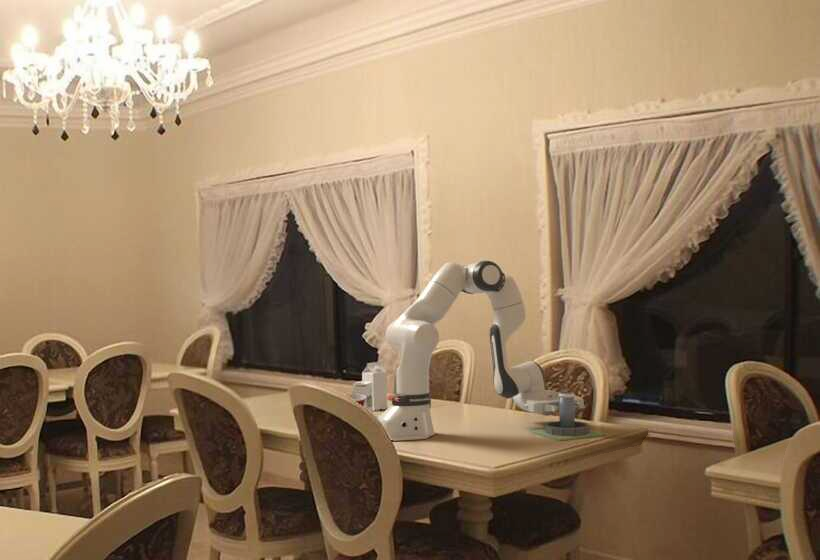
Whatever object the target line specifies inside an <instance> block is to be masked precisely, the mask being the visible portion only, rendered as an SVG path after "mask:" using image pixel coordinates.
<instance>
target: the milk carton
mask: <svg viewBox="0 0 820 560" xmlns="http://www.w3.org/2000/svg"><path fill="white" fill-rule="evenodd" d="M381 362H382V361H376V362H375V361H374V362H369V363H368V362H367V363H366V366H365V367H364V369H363V371H362V372H361V378H362V379H361V381H368V382H372V410H373V411H372V412H375V410H376V411H381V410H380V409H382V410H387V409H388V400H387V398H386V397H387V396H388V392H387V391H388V388H387V387H388V382H387V371H386V369H385V368H384V367H383V365H382V363H381Z"/></svg>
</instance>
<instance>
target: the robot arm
mask: <svg viewBox="0 0 820 560" xmlns="http://www.w3.org/2000/svg"><path fill="white" fill-rule="evenodd" d="M461 292H463V293H465V294H468V295H473V294H483V293H485V295H486V296H487V297H488V298H489V301H490V303H491V307H492V311H493V323H492V326H491V327H490V328H489V342H490V350H491V360H492V369H493V376H492V377H493V378H492V381H493V388H494V390H495V392H496V394H497V395H499V396H501V397H502V398H505V399H511V398H513V402H514V404H515V405H516V406H517V407H519V408H520V409H521V410H524V411H526V412H529V413H532V414H537V415H542V416H546V417H547V416H548V417H549V416H551V415H554V414H557V413H559V393H560V392H561V391H559V390H558V391H556V390H555V391H554V390H550V389H546V384H547V381H546V379H547V378H546V373H545V371H544V369H543V368H542V366H541V365H539V363H537V362H536V361H534V360H529V361H525V362H522V363H520V364H518V365H514V366H511V367H509V365H508V358H507V356H508V355H507V350H506V346H507V342H508V340H509V338H510V337H511V336H512V335H513V334H514V333H515V332H516V331H518V330H519V329H520V328H521V326H522V325H523V324H524V322H525V320H526V315H527V314H526V308H525V304H524V302H523V301H524V300H523V298H522V295H521V292H520V288H519V286H518V285H517V283H516V280H515V279H514V278H513V276H512V275H508V274H505V273H504V272H503V271H502V269H501V267H500V266H499V265H498V264H497V263H496V262H494V261H491V260H481V261H474V262H472V263H468V264H466V265H463V266H462V265H460V264H459V263H457V262H454V261H453V262H452V261H449V262H446V263H444V264H443V265H442V266H440V268H439V269H438V270H437V271H436V272H435V273H434V274H433V276H432V277H431V278H430V280H429V282H428V283H427V284H426V286H425V288H423V290H422V292H421V293H420V294H419V296H418V297H417V298H416V299H415V301H414V302H413V303H412V304H411V305H410V306H409V307H408V308H407V309H406V310H405V311H404V312H402V314H401V315H400V316H399V317H397V318H396V319H395V320H393V322H391V323H389V325H388V326H387V327H386V330H385V340H386V341H387V343H388V344H389V345H390V346H391V347H392V348H394V349H396V350H397V351H401V352H402V355H401V360H400V362H399V366H398V367H397V369H396V372H395V376H396V393H395V394H388V393H387V397H386V398H387V401H390V402H391V405H390V406H389V407H387V409H384V410H385V411H383V412H382V413H381V414H380V415H379V416H377V418H378V420H379V421H380V422H381V423H382V425H383V426H384V427H385V429H386V430H387V432H388V434H389V435H390V437H391V439H392V440H393V441H392V442H395V441H396V442H397V441H398V442H400V441H411V440H427V439H429V437H431V436H434V435H435V434H436V433H435V430H434V426H433V420H432V414H431V407H432V400H431V399H432V397H431V392H430V365H431V361H432V357H433V353H434V351H435V349H436V347H437V346H438V345H439V342H440V333H439V331H438V329H437V327H436V326H435V325H436V323H438V322H439V321H441V320H443V318H445V316H446V314H447V313H448V311H450V309H451V307H452V306H453V304H454V303H455V301H456V300H457V298H458V297H459V294H460V293H461ZM584 407H585V403H584V399H583V397H581V396H578V395H575V394H574V411H575V410H583V409H584Z"/></svg>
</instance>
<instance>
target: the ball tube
mask: <svg viewBox="0 0 820 560" xmlns="http://www.w3.org/2000/svg"><path fill="white" fill-rule="evenodd" d="M559 392H560V393H559V412H558V413H559V417H558V418H559V421H560V428H575V421H576V420H575V417H576V416H575V415H576V414H575V410H574V395H575V392H572V391H559Z"/></svg>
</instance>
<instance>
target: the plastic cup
mask: <svg viewBox="0 0 820 560" xmlns="http://www.w3.org/2000/svg"><path fill="white" fill-rule="evenodd" d="M345 394H346V395H347V396H349V397H350V398H352V399H354V400H355V401H356V402H358V403H359V404H361V405H362V406H363V405H364V402H365V399H366V396H365V395H361V394H353V393H345Z"/></svg>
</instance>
